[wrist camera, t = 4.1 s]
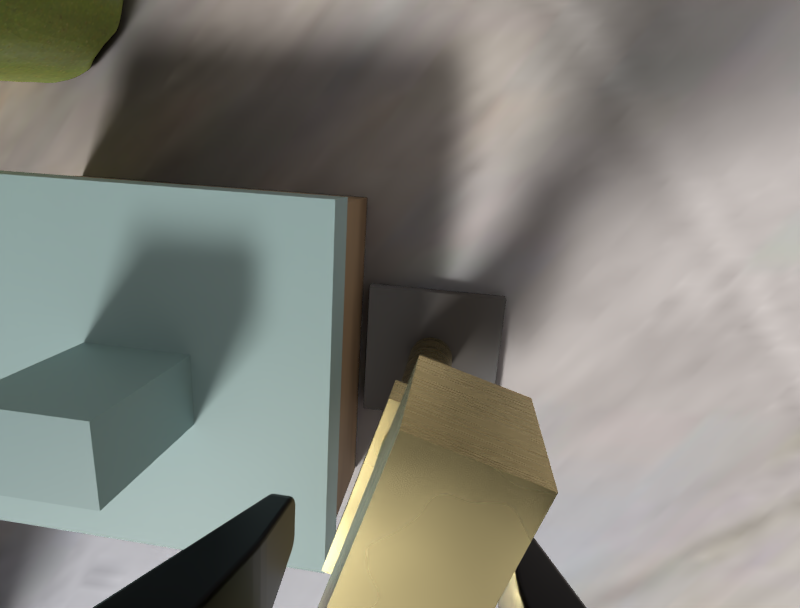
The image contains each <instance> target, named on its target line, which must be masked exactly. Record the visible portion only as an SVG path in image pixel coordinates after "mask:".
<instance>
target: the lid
mask: <svg viewBox="0 0 800 608" xmlns="http://www.w3.org/2000/svg"><path fill="white" fill-rule="evenodd" d="M347 204H348V197H340V196H327V195H314V194H301V193H288V192H275V191H262V190H248V189H235V188H222V187H209V186H196V185H183V184H169V183H156V182H143V181H130V180H117V179H104V178H90V177H77V176H64V175H51V174H38V173H25V172H12V171H0V520H4V521H11V522H17V523H23V524H29V525H35V526H41V527H47V528H53V529H59V530H65V531H71V532H77V533H83V534H89V535H95V536H102V537H108V538H114V539H120V540H126V541H132V542H138V543H144V544H150V545H156V546H162V547H168V548H174V549H180V550H183V549H185V548H187V547H188V546H190V545H191V544H193V543H194V542H196V541H198V540H199V539H201V538H202V537H204V536H205V535H207V534H208V533H210V532H212V531H213V530H215V529H216V528H218V527H219V526H221V525H223V524H224V523H226V522H227V521H229V520H230V519H232V518H233V517H235V516H237V515H238V514H240V513H241V512H243V511H244V510H246V509H248V508H249V507H251V506H252V505H254V504H255V503H257V502H258V501H260V500H262V499H263V498H265V497H266V496H268V495H270V494H281V495H287V496H292V497H293V498H294V500H295V536H294V543H293V548H292V551H291V554H290V557H289V560H288V563H287V566H286V567H290V568H296V569H302V570H308V571H314V572H320V573H325V572H324V571H322V568H323V566H324V563H325V560H326V557H327V555H328V552H329V549H330V546H331V544H332V541H333V538H334V536H335V533H336V509H337V482H338V454H339V426H340V398H341V371H342V343H343V315H344V287H345V260H346V232H347Z"/></svg>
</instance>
